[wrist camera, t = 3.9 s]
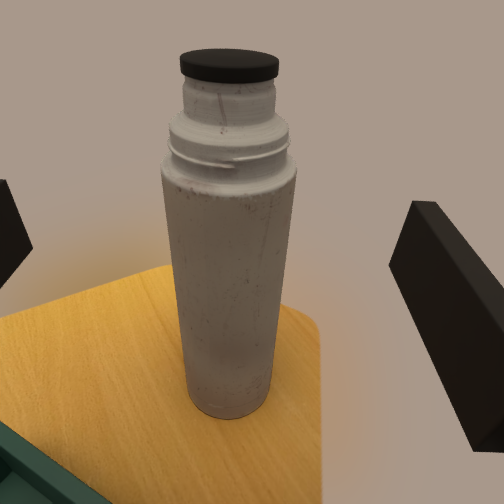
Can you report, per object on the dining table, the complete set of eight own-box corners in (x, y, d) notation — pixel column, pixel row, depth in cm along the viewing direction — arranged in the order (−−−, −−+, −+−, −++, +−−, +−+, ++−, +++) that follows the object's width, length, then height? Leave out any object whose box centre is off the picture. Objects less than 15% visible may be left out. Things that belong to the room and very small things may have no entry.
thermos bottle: (206, 337, 39) (189, 35, 22) (278, 357, 37) (322, 48, 20) (172, 404, 33) (110, 57, 15) (256, 431, 31) (292, 77, 14)
